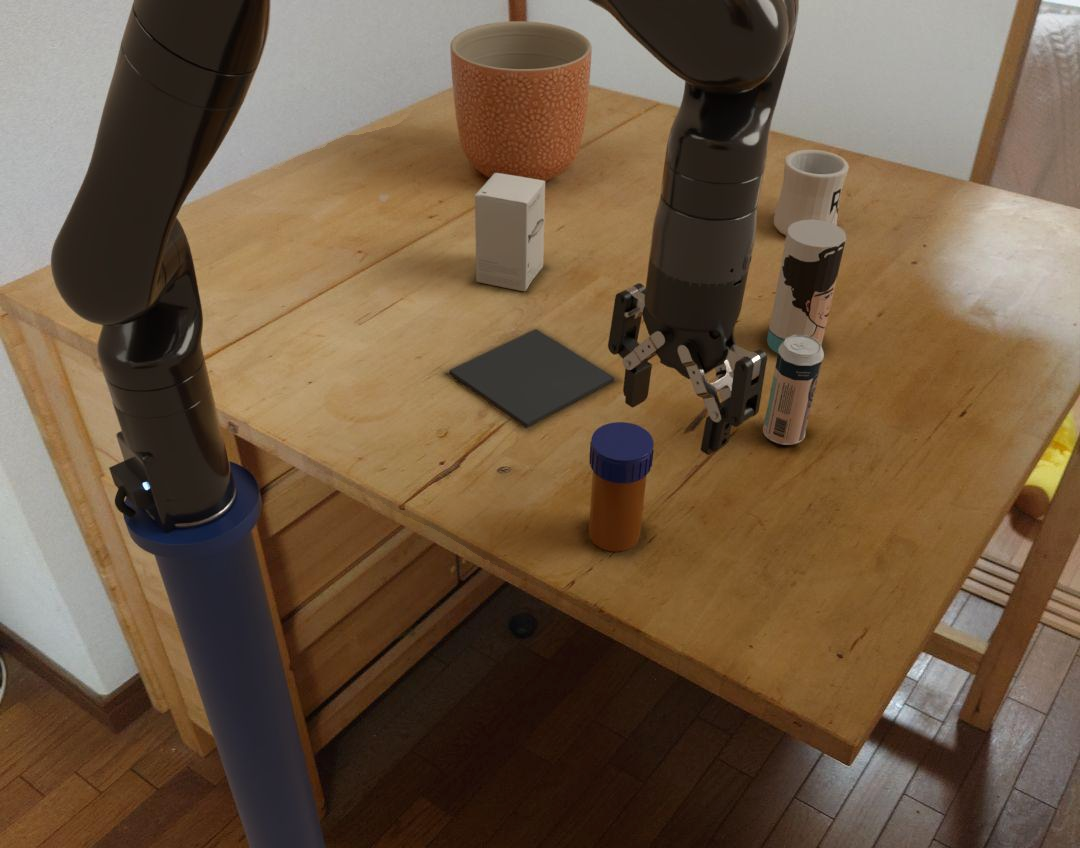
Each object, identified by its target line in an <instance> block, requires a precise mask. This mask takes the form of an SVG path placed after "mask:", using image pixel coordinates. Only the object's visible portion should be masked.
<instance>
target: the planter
mask: <svg viewBox="0 0 1080 848" xmlns="http://www.w3.org/2000/svg"><path fill="white" fill-rule="evenodd" d="M591 43H592V42H590V40H589V39H588V38H587V37H586V36H585V35H584V34H582V33H580V32H578V31H576V30H575V29H571V28H568V27H565V26H561V25H559V24H552V23H547V22H538V21H523V20H520V21H519V20H516V21H515V20H513V21H511V20H510V21H498V22H491V23H485V24H481V25H476V26H473V27H470V28H467V29H465V30H463V31H462V32H461V31H460V33H458V34H457V35H456V36H454V38H452V40H451V42H450V47H449V48H450V69H451V70H450V71H451V82H452V93H453V102H454V111H455V121H456V126H457V132H458V136H459V142H460V145H461V148H462V151H463V154H464V156H465V157H466V159H467V161H468V162H469V163H470V164H471V166H473V168H475V170H477V171H478V172H479V173H480V174H482V175H483V176H484V177H487V178H488V179H490V178H491V177H492V175H493V174H494V173H501V174H507V175H514V176H520V177H526V178H532V179H538V180H543V181H545V182H547V181H550V180H553V179H554V178H555V177H557V176H559V175H560V174H562V173H563V172H565V170H567V169H568V168H569V167H570V166H571V164H572V163H573V162H574V161H575V159H576V157H577V156H578V153H579V152H580V148H581V145H582V141H583V137H584V136H583V135H584V131H585V125H586V118H587V109H588V103H589V102H588V101H589V92H590V81H591V80H590V79H591V67H592V51H593V50H592V49H593V47H592V44H591Z"/></svg>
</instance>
